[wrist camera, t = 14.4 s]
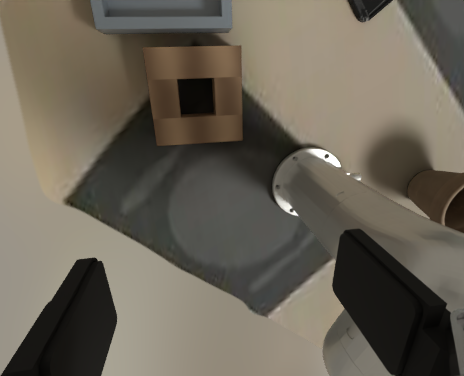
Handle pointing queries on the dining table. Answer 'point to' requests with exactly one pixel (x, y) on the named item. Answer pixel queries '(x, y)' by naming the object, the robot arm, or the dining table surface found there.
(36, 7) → the dining table surface
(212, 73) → the pin block
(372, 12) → the phone
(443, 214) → the flower pot
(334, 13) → the dining table surface
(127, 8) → the tray
